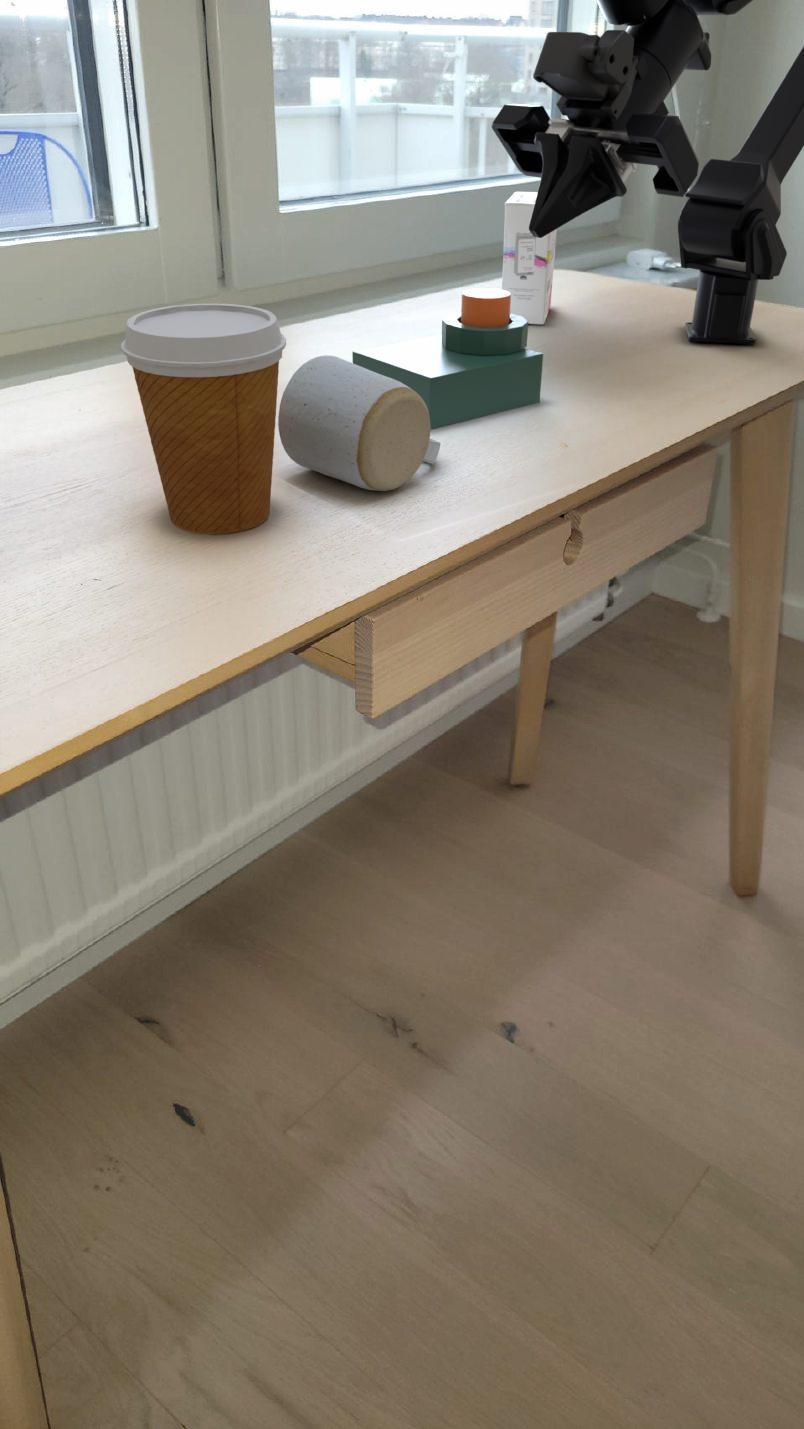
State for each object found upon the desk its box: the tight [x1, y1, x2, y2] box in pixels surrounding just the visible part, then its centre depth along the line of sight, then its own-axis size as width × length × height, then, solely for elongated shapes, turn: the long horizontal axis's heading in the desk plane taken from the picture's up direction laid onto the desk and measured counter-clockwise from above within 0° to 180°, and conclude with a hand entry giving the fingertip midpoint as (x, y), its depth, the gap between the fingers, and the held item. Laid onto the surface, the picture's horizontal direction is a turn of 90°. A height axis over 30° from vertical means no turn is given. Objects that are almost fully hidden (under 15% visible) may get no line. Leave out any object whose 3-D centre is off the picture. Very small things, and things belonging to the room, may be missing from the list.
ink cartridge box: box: [501, 191, 558, 325], centre depth 112 cm, size 9×5×15 cm, turn 168°
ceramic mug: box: [277, 354, 441, 492], centre depth 72 cm, size 11×8×8 cm
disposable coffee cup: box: [120, 303, 287, 535], centre depth 65 cm, size 10×10×12 cm
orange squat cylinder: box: [460, 287, 511, 327], centre depth 88 cm, size 4×4×3 cm
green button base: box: [351, 311, 544, 430], centre depth 88 cm, size 14×10×6 cm
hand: (534, 234), depth 87 cm, fingers closed
